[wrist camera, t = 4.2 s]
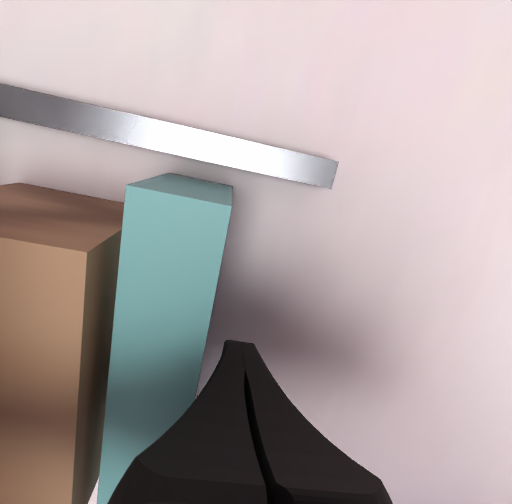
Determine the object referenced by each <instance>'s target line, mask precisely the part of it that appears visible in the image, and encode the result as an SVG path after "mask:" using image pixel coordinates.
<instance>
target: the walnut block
mask: <svg viewBox="0 0 512 504" xmlns="http://www.w3.org/2000/svg"><path fill="white" fill-rule="evenodd" d="M123 213H124V203H121V202H116V201H111V200H106V199H101V198H96V197H91V196H85V195H80V194H75V193H70V192H65V191H60V190H55V189H50V188H45V187H39V186H34V185H29V184H24V183H14V184H7V185H0V504H88V502H89V499H90V497H91V494H92V492H93V490H94V487H95V485H96V482H97V480H98V478H99V473H100V463H101V452H102V441H103V430H104V419H105V408H106V397H107V387H108V376H109V365H110V354H111V343H112V332H113V322H114V311H115V300H116V289H117V278H118V267H119V256H120V246H121V235H122V224H123Z"/></svg>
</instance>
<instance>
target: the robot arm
mask: <svg viewBox="0 0 512 504" xmlns="http://www.w3.org/2000/svg"><path fill="white" fill-rule="evenodd" d="M107 504H393V503H392V501H391V499H390V496H389V494H388V493H387V491H386V489H385V487H384V485H383V483H382V481H381V479H379V478H378V477H376V476H375V475H373V474H372V473H371V472H369V471H368V470H366V469H365V468H364V467H362V466H361V465H359V464H358V463H356V462H355V461H354V460H352V459H351V458H350V457H348V456H347V455H346V454H344V453H343V452H342V451H341V450H340V449H338V448H337V447H336V446H335V445H333V444H332V443H331V442H330V441H329V440H328V439H327V438H325V437H324V436H323V435H322V434H321V433H320V432H319V431H318V430H317V429H316V428H315V427H314V426H313V425H312V424H311V423H310V422H309V421H308V420H307V419H306V418H305V417H304V416H303V415H302V414H301V413H300V412H299V411H298V409H297V408H296V407H295V406H294V405H293V404H292V403H291V401H290V400H289V399H288V398H287V396H286V395H285V394H284V392H283V391H282V389H281V388H280V387H279V385H278V384H277V382H276V381H275V379H274V378H273V376H272V375H271V373H270V371H269V370H268V368H267V366H266V365H265V363H264V361H263V360H262V358H261V356H260V354H259V352H258V350H257V349H256V347H255V345H254V344H253V343H247V342H241V341H234V340H226V341H225V342H224V346H223V351H222V355H221V358H220V360H219V362H218V364H217V366H216V368H215V370H214V372H213V374H212V376H211V377H210V379H209V381H208V382H207V384H206V385H205V387H204V388H203V390H202V391H201V393H200V394H199V395H198V397H197V398H196V399H195V401H194V402H193V403H192V404H191V406H190V407H189V408H188V409H187V410H186V411H185V413H184V414H183V415H182V416H181V417H180V418H179V419H178V420H177V421H176V422H175V423H174V424H173V425H172V426H171V427H170V428H169V429H168V430H167V431H166V432H165V433H164V434H163V435H162V436H161V437H160V438H158V439H157V440H156V441H155V442H154V443H152V444H151V445H150V446H149V447H147V448H146V449H145V450H144V451H142V452H141V453H140V454H139V455H137V456H136V457H135V458H134V460H133V461H132V463H131V464H130V466H129V467H128V469H127V470H126V472H125V473H124V475H123V476H122V478H121V480H120V481H119V483H118V485H117V486H116V488H115V490H114V492H113V493H112V495H111V497H110V499H109V501H108V503H107Z"/></svg>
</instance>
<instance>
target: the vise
mask: <svg viewBox="0 0 512 504" xmlns="http://www.w3.org/2000/svg"><path fill="white" fill-rule="evenodd" d="M0 117H4V118H9V119H13V120H18V121H23V122H27V123H32V124H36V125H41V126H45V127H50V128H55V129H59V130H64V131H68V132H73V133H78V134H82V135H87V136H91V137H96V138H100V139H105V140H110V141H114V142H119V143H123V144H128V145H132V146H137V147H142V148H146V149H151V150H155V151H160V152H164V153H169V154H174V155H178V156H183V157H187V158H192V159H197V160H201V161H206V162H210V163H215V164H219V165H224V166H229V167H233V168H238V169H242V170H247V171H251V172H256V173H261V174H265V175H270V176H274V177H279V178H283V179H288V180H293V181H297V182H302V183H306V184H311V185H316V186H320V187H325V188H329V189H331V188H332V184H333V181H334V177H335V174H336V170H337V167H338V163H339V162H338V161H334V160H329V159H325V158H321V157H316V156H312V155H308V154H303V153H299V152H295V151H290V150H286V149H282V148H277V147H273V146H269V145H264V144H260V143H256V142H251V141H247V140H243V139H238V138H234V137H230V136H225V135H221V134H217V133H212V132H208V131H204V130H200V129H195V128H191V127H187V126H182V125H178V124H174V123H169V122H165V121H161V120H156V119H152V118H148V117H143V116H139V115H135V114H130V113H126V112H122V111H117V110H113V109H109V108H104V107H100V106H96V105H91V104H87V103H83V102H78V101H74V100H70V99H65V98H61V97H57V96H52V95H48V94H44V93H40V92H35V91H31V90H27V89H22V88H18V87H14V86H9V85H5V84H1V83H0Z"/></svg>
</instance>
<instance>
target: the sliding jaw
mask: <svg viewBox="0 0 512 504" xmlns="http://www.w3.org/2000/svg"><path fill="white" fill-rule="evenodd" d="M232 187H233V186H229V185H224V184H219V183H215V182H210V181H205V180H200V179H196V178H191V177H186V176H181V175H177V174H172V173H167V174H163V175H160V176H156V177H153V178H149V179H146V180H142V181H139V182H135V183H131V184H128V185H126V191H125V202H124V213H123V224H122V235H121V246H120V256H119V267H118V278H117V289H116V300H115V311H114V322H113V332H112V343H111V354H110V365H109V376H108V387H107V397H106V408H105V419H104V430H103V441H102V452H101V463H100V473H99V484H98V495H97V504H107V503H108V501H109V499H110V497H111V495H112V493H113V492H114V490H115V488H116V486H117V485H118V483H119V481H120V480H121V478H122V476H123V475H124V473H125V472H126V470H127V469H128V467H129V466H130V464H131V463H132V461H133V460H134V458H135V457H136V456H137V455H139V454H140V453H141V452H142V451H144V450H145V449H146V448H147V447H149V446H150V445H151V444H152V443H154V442H155V441H156V440H157V439H158V438H160V437H161V436H162V435H163V434H164V433H165V432H166V431H167V430H168V429H169V428H170V427H171V426H172V425H173V424H174V423H175V422H176V421H177V420H178V419H179V418H180V417H181V416H182V415H183V414H184V413H185V411H186V410H187V409H188V408H189V407H190V406H191V404H192V403H193V402H194V401H195V396H196V391H197V386H198V381H199V375H200V370H201V365H202V360H203V355H204V349H205V344H206V339H207V334H208V329H209V323H210V318H211V313H212V308H213V303H214V297H215V292H216V287H217V282H218V277H219V271H220V266H221V261H222V256H223V251H224V245H225V240H226V235H227V230H228V225H229V219H230V214H231V209H232Z"/></svg>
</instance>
